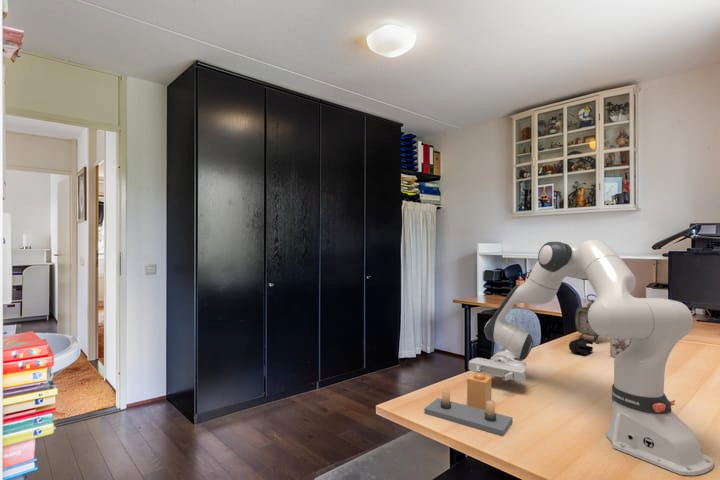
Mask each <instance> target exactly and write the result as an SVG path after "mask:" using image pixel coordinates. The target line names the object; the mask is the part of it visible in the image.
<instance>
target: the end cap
mask: <svg viewBox="0 0 720 480" xmlns="http://www.w3.org/2000/svg"><path fill="white" fill-rule="evenodd" d="M593 344H594V340H592V339H587V338H585V337H583V336H582V338H579V337H578V338H577V339H574V340H571V341H570V342H569V344H568V348H569V351H570V352H571V353H573V354H574V355H576V356H580V357H588V356H589V355H592V354H593V352H594V351H593V350H594V346H589V345H593Z"/></svg>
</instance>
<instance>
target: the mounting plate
mask: <svg viewBox="0 0 720 480" xmlns="http://www.w3.org/2000/svg"><path fill="white" fill-rule="evenodd" d="M450 399H451V391H450V390H449V389H442V390H441V398H440V397H437V398H436V399H434V400H433V401H432V402H431V403H429V404H428V405H427V406H426V407H424V412H423V413H424V414H426V415H430V416H432V417H435V418H440V419H444V420H445V421H449V422H454V423H458V424H460V425H463V426H466V427H470V428H474V429H477V430H481V431H484V432H488V433H491V434H495V435H497V436H502V437H504V435H505V434H506V433H507V431H508V429H509V428H510V426H512V424H513V417H512V416H509V415H506V414H501V413H497V412H496V407H495V406H496V403H495V401H493V400H491V401H486V410H482V409H478V408H475V407H471V406H467V404H464V403H463V404H462V403H460V402H459V403H458V402H455V401H451V400H450Z"/></svg>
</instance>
